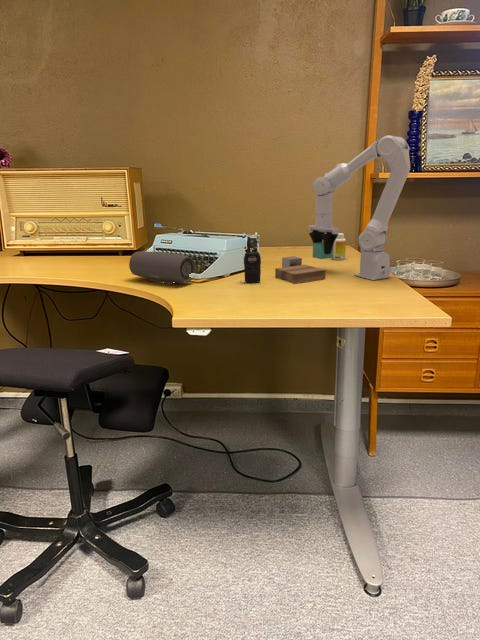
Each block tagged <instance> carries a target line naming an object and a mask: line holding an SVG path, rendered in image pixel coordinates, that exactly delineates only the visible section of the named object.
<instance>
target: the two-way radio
mask: <svg viewBox="0 0 480 640" xmlns="http://www.w3.org/2000/svg"><path fill="white" fill-rule="evenodd" d="M261 258H262V257H261V255H260V252H259V251H258V247H254V248H253V251H251V237H250V236H249V235H248V236H247V237H246V252H245V253H244V256H243V265H244V266H243V268H244V269H243V272H244V282H245V283H247V284H252V283H256V284H258V283H260V282H261V270H262V268H261V267H262V266H261V265H262V261H261V260H262V259H261Z"/></svg>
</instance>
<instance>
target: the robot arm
mask: <svg viewBox="0 0 480 640" xmlns="http://www.w3.org/2000/svg"><path fill="white" fill-rule="evenodd" d="M410 148H411V147H410V146H409V144H408V142H407V141H406V139H405V138H403V136H394V135H389V134H387V135H385V136H382V137H381V138H380V139H379V140H376V141H374V142H373V143H372V144H370V145H369V146H368V147H367V148H366V149H365V150H362V152H361V153H359V154H358V155H357V156H355V157H354V158H353V159H351V161H349V162H348V163H345V162H342V163H337V164H336V165H335V168H332V170H330V171H329V172H325V173H323V175H324V176H318V177H317V178H316V179H315V180H314V181H313V184H312V191H313V192H314V194H315V207H314V209H315V210H314V213H315V215H314V217H315V218H314V222H315V223H314V224H309V225H308V231H309V232H308V234H309V236H310V238H311V241H312V244H313V243H319V242H324V252H325V254H331V251H332V247H333V244H334V242H335V240H336V238H337V236H338V234H339V233H340V228H339V227H336V226H334V225H333V197H334V196H333V195H334V192H336V189H338V188H339V187H340V186H342V185H343V184H345V183H346V182H348V181H349V180H351V179H352V177H353V174H354V173H355V172H356V171H357V170H359V169H360V168H362V167H364V166H365V165H366V164H368V163H370V162H371V161H373V160H374V159H383V160H384V161H385V162H386V163H387V165H388V167H389V169H390V172H389V176H388V178H387V180H386V183H385V186H384V188H383V191H382V193H381V195H380V197H379V200H378V203H377V205H376V208H375V211H374V213H373V214H372V218H371V220H370V221H369V222H368V223H367V225H366V226H365V229H364V230H363V231H362V232H361V233H360V234H359V235H358V240H357V241H358V245H359V247H360V258H359V259H360V260H359V272H358V273H357V272H356V273H354V274H353V276H355V277H356V276H357V277H359V278H364V279H367V280H372V281H376V280H383V279H387V278H388V279H389V278H392V275H390V270H391V269H390V267H391V258H390V254H389V253H387V252H386V251H384V245H385V243H386V242H387V238H388V237H387V234H388V233H387V232H388V230H389V226H388V225H389V221H390V218H391V216H392V214H393V213H394V212H393V211H394V209H395V207H396V204H397V202H398V199H399V198H400V195H401V193H402V190H403V188H404V185H405V183H406V180H407V179H408V176H409V173H410V171H411V160H410Z"/></svg>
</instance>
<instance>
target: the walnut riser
mask: <svg viewBox="0 0 480 640" xmlns="http://www.w3.org/2000/svg"><path fill="white" fill-rule="evenodd" d="M274 269H275V270H274V271H275V273H274V275H275V276H274V277H275V278H277V279H280V280H283V281H286V282H290V283H293V284H303V283H308V282H315V281H321V280H322V281H323V280H325V279H326V272H327V271H326V269H323V268H319V267H314V266H310V265H307V264H302V265H298V266H290V267H283V268H282V267H276V268H274Z"/></svg>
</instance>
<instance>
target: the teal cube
mask: <svg viewBox="0 0 480 640" xmlns="http://www.w3.org/2000/svg"><path fill="white" fill-rule="evenodd" d="M312 258H314V259H318V260H326V259H327V260H328V259H332V258H333V247H332V251H331V254H325V252H324V242H323V241H322V242H319V243H313V242H312Z"/></svg>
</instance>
